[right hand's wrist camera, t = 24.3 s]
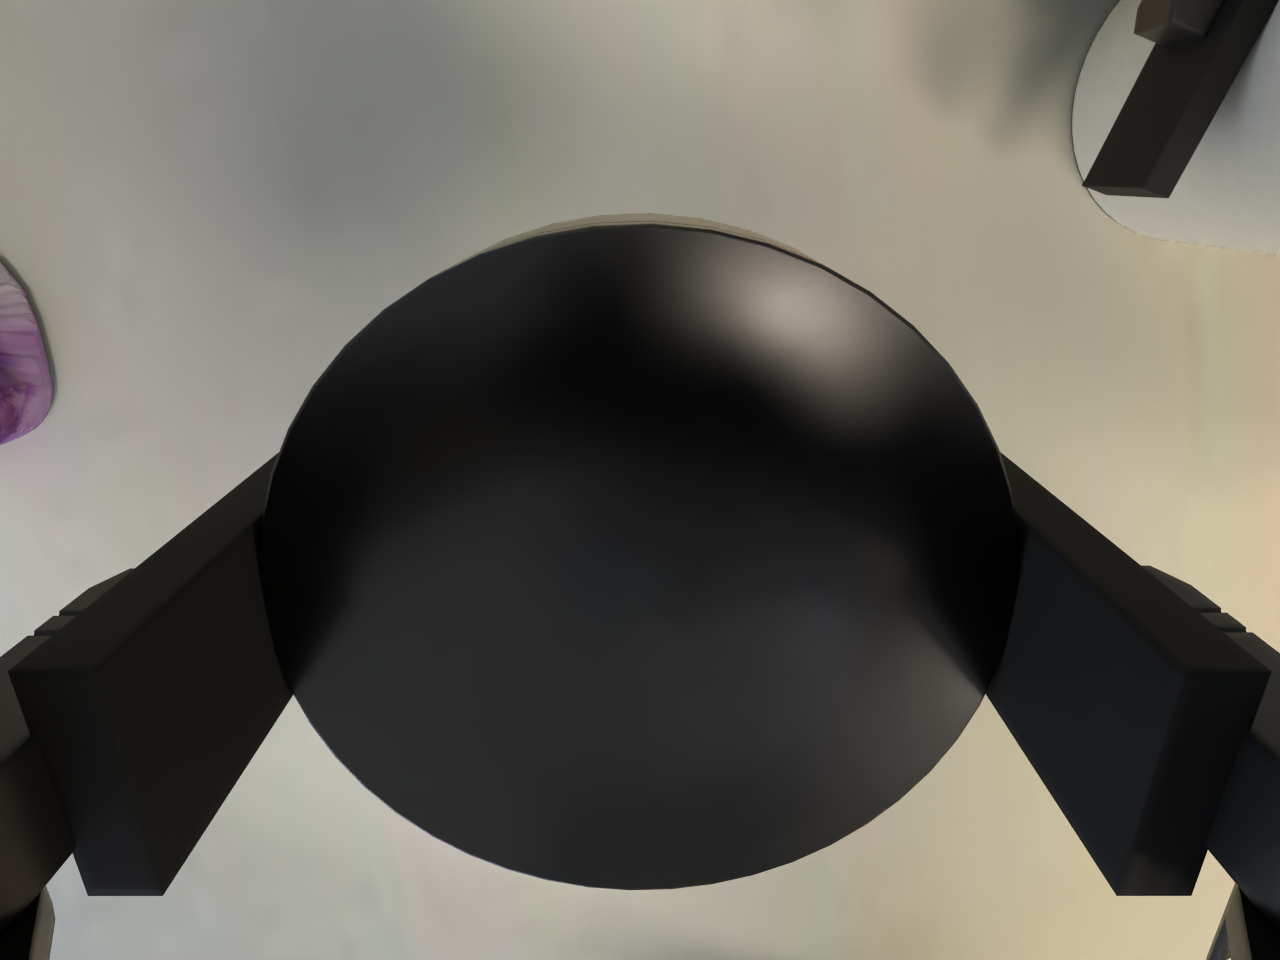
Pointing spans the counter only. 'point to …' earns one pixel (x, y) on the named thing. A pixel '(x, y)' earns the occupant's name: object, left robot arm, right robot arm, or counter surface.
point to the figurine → (21, 364)
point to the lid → (639, 554)
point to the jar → (1223, 161)
